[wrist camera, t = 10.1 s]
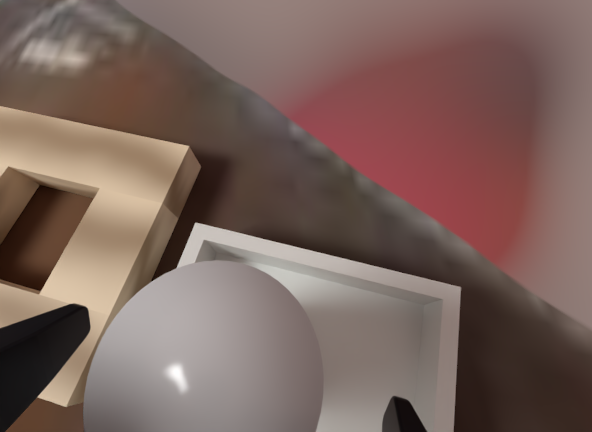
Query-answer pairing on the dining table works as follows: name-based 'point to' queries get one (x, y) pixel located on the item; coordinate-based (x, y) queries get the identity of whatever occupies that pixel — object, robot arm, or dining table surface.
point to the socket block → (91, 221)
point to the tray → (360, 328)
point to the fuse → (207, 357)
